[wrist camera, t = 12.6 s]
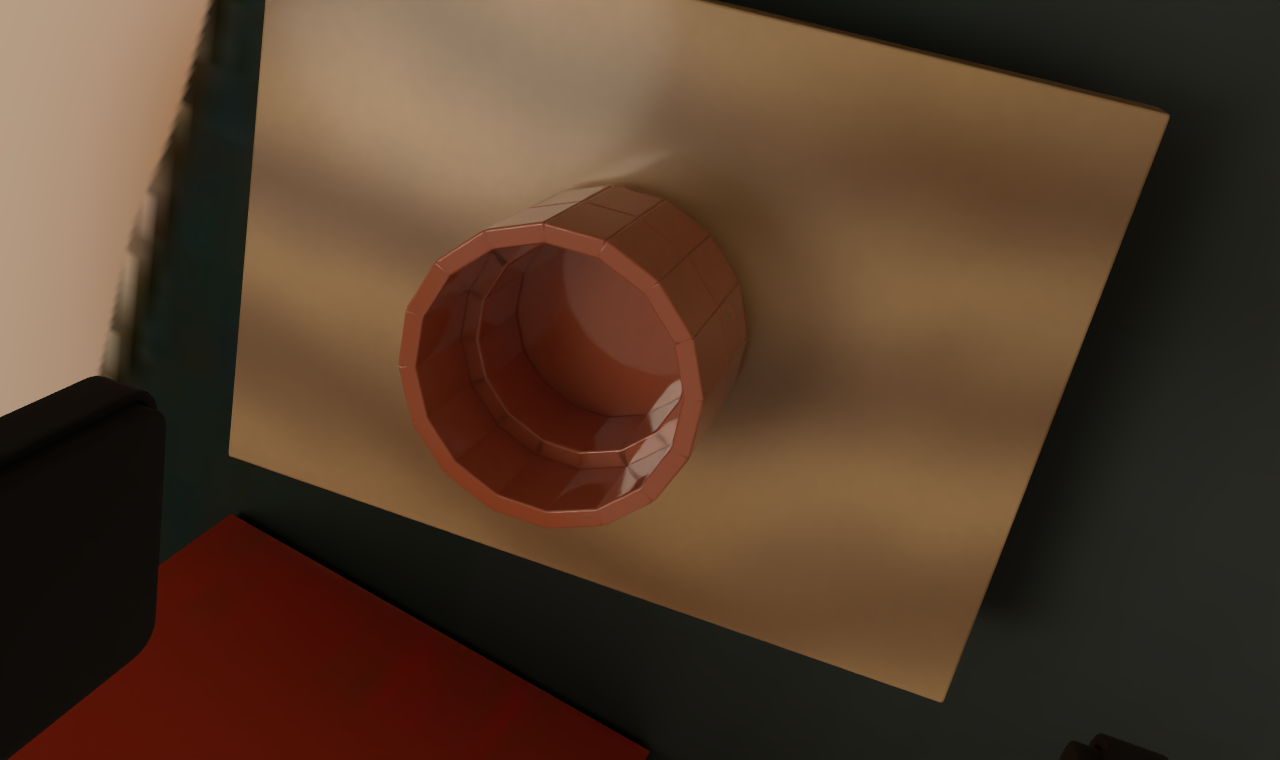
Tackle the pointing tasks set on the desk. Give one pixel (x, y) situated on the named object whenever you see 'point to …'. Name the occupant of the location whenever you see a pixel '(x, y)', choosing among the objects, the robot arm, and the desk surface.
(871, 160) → the oak riser board
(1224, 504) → the desk surface
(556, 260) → the dip bowl
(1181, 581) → the desk surface
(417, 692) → the file binder
